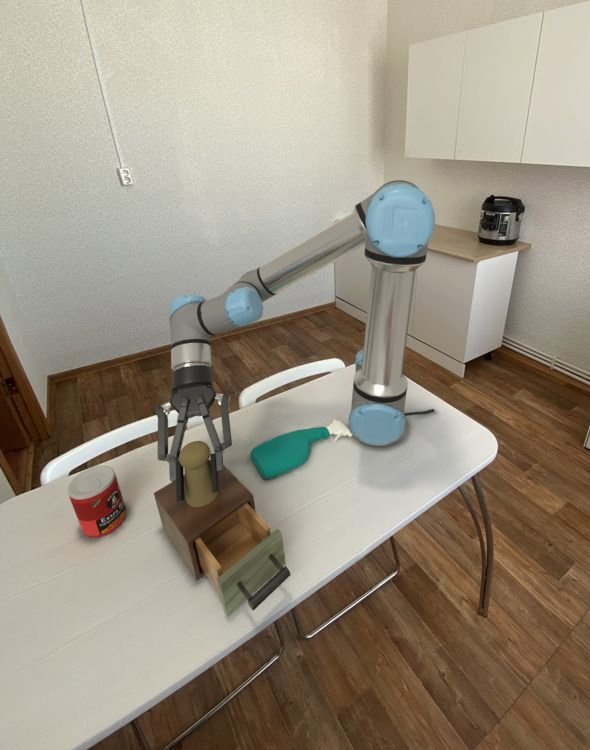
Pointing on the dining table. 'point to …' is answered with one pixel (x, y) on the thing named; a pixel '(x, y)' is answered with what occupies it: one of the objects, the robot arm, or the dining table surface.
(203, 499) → the cork
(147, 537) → the dining table surface
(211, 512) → the cabinet
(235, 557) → the drawer
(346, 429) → the spray bottle
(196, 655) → the dining table surface
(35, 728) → the dining table surface
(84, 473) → the canned food
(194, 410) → the robot arm
